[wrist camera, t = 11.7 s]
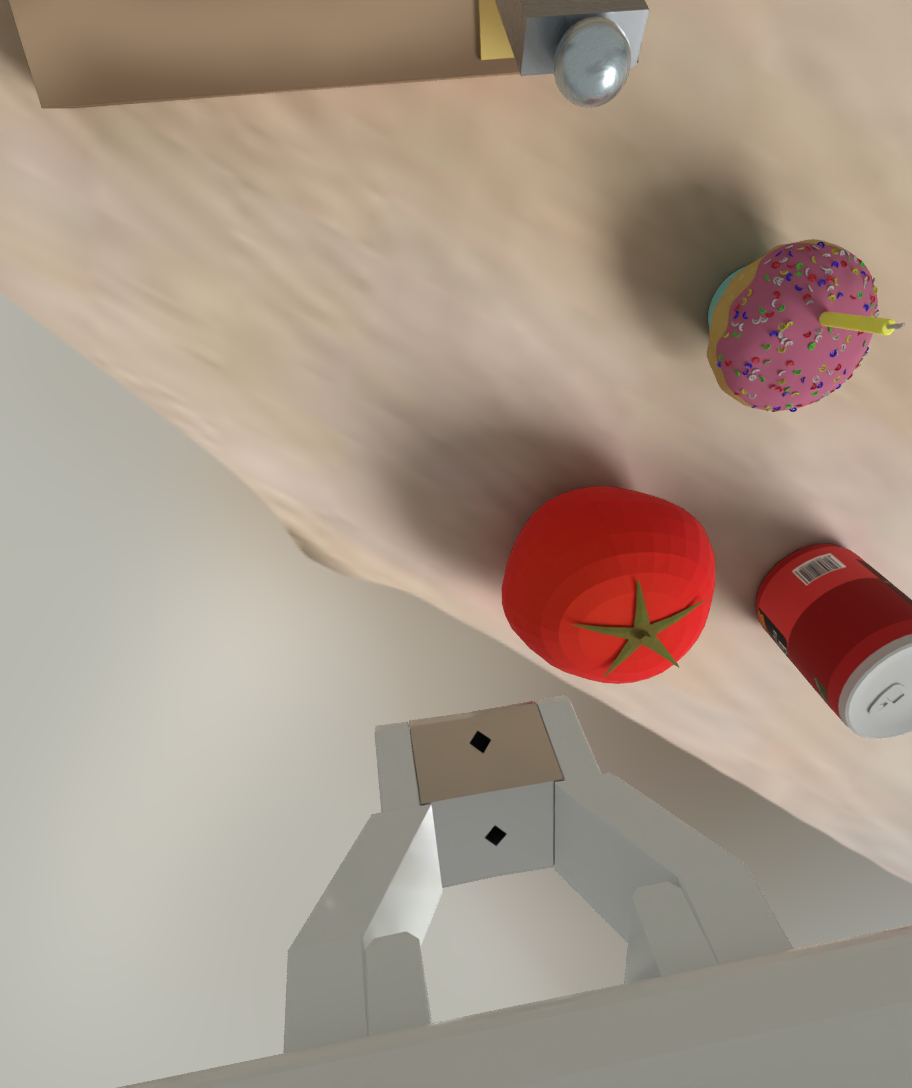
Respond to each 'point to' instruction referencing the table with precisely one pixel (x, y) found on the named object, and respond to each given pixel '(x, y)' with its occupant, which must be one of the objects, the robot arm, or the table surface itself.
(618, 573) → the tomato
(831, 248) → the cupcake
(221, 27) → the switch box
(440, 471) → the table surface
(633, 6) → the grey knob lever
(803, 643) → the canned food
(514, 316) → the table surface
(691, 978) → the robot arm
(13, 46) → the table surface
